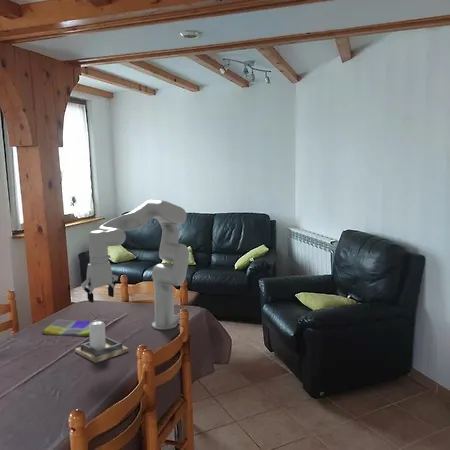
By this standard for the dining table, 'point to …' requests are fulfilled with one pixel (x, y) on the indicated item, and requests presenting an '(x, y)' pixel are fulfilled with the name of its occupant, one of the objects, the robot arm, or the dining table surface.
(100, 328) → the can
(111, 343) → the square tray
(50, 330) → the dish towel
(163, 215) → the robot arm
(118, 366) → the dining table surface
